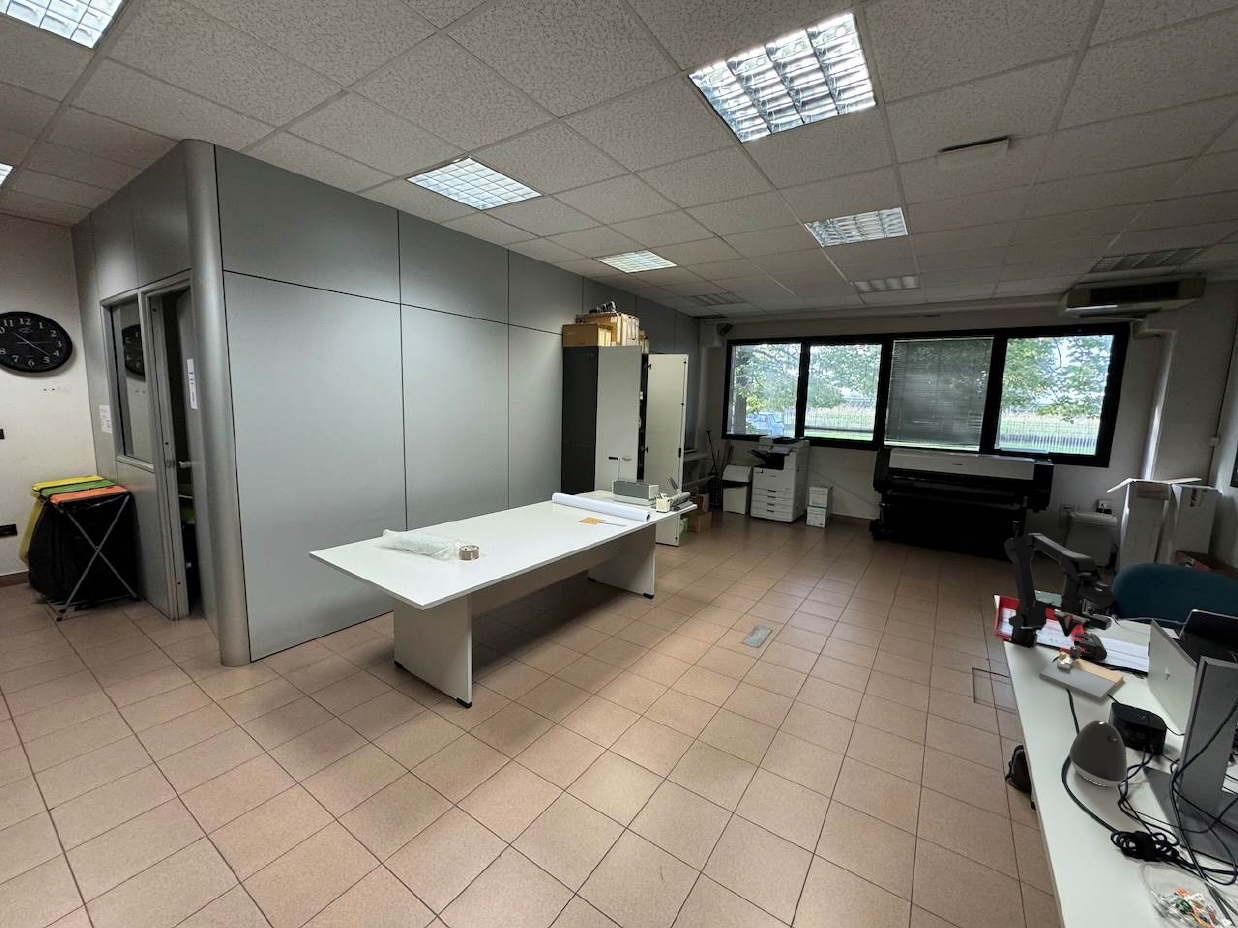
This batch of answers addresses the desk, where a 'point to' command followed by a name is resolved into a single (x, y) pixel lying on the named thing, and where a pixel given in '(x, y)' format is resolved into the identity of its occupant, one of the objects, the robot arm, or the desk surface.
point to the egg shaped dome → (1099, 754)
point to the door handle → (1070, 658)
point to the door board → (1083, 678)
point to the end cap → (1091, 647)
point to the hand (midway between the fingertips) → (1066, 636)
